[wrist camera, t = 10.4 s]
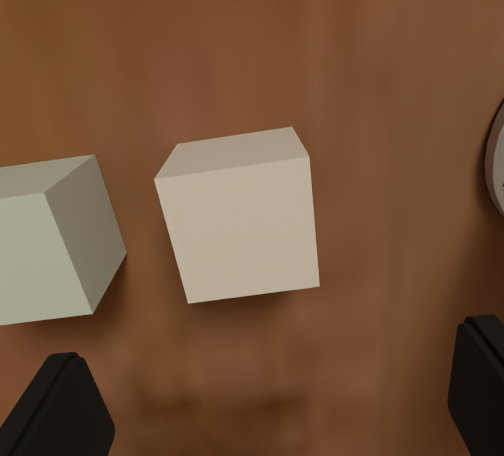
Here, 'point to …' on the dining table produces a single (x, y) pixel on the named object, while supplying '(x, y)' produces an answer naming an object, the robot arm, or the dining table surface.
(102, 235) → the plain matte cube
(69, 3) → the dining table surface
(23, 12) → the dining table surface
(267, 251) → the cream cube
